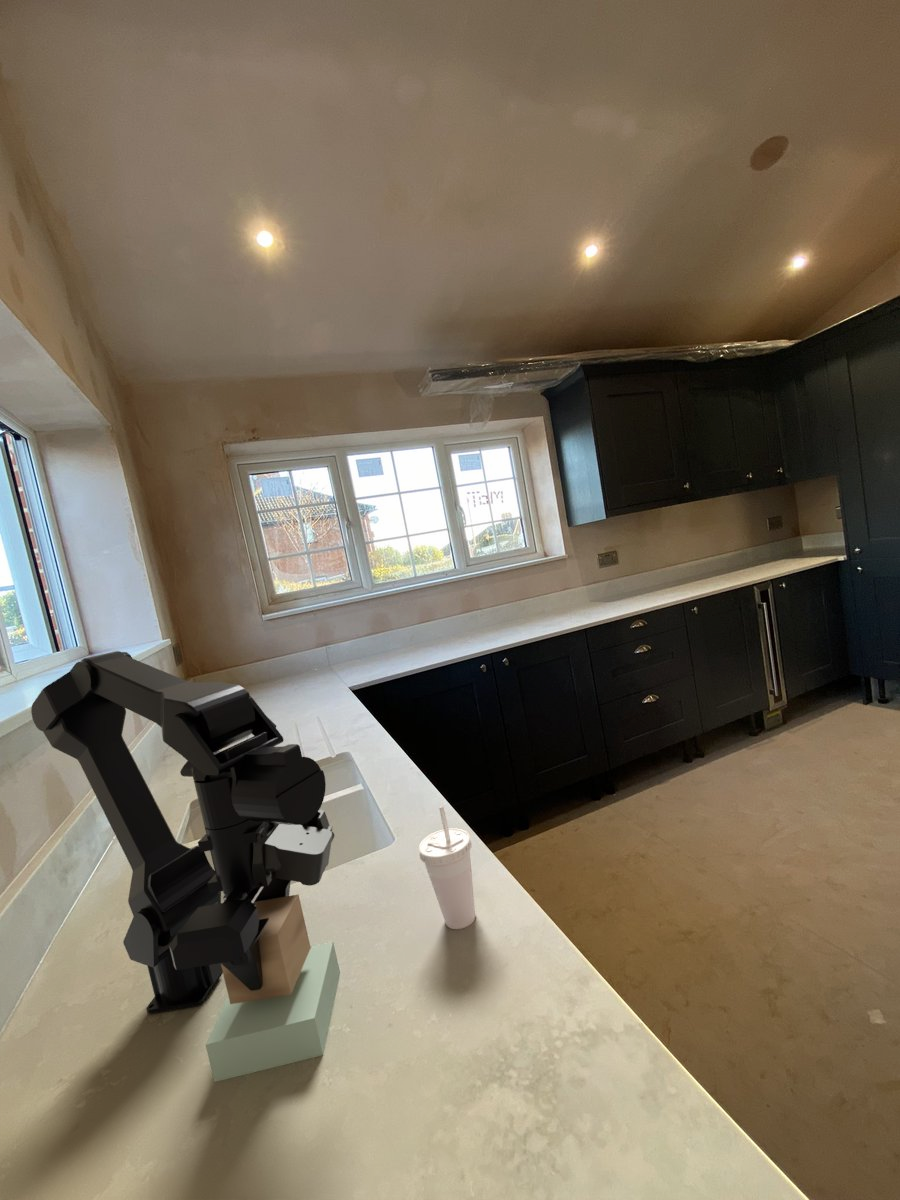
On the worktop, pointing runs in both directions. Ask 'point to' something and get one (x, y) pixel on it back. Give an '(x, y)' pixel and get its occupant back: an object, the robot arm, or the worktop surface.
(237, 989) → the walnut cube
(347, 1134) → the worktop surface
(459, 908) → the smoothie
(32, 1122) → the worktop surface
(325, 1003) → the sage box
